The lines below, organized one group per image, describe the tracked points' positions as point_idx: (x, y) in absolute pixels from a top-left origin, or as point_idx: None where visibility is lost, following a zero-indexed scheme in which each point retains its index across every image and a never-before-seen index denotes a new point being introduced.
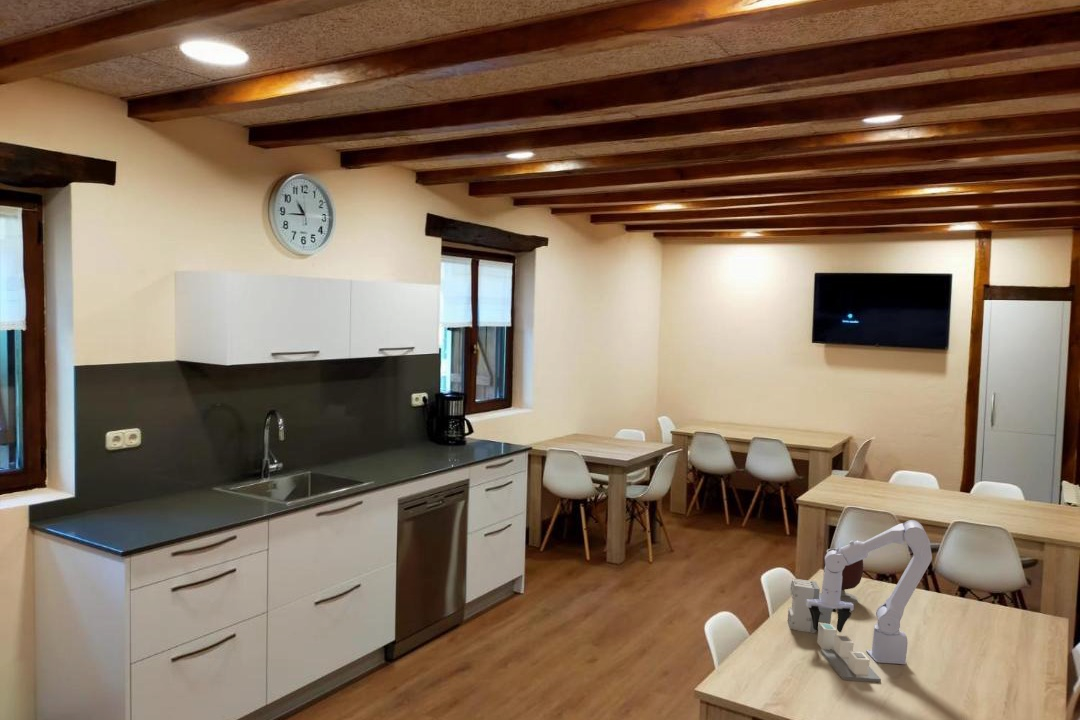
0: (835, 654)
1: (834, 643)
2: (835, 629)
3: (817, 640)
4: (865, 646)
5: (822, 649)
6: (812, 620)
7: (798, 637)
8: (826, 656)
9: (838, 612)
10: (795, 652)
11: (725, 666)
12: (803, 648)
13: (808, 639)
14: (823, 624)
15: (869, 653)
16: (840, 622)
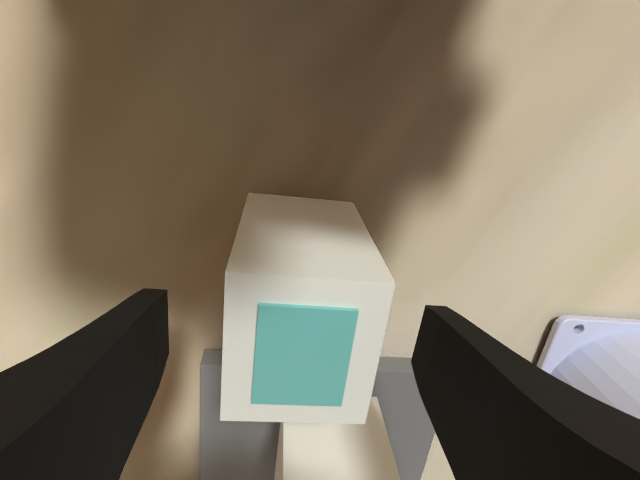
0: (276, 422)
1: (282, 444)
2: (357, 415)
3: (246, 202)
4: (620, 233)
5: (211, 366)
6: (85, 330)
7: (101, 85)
8: (200, 443)
9: (564, 460)
10: (3, 364)
11: None
12: (86, 300)
13: (192, 127)
14: (267, 316)
15: (541, 367)
16: (461, 443)
